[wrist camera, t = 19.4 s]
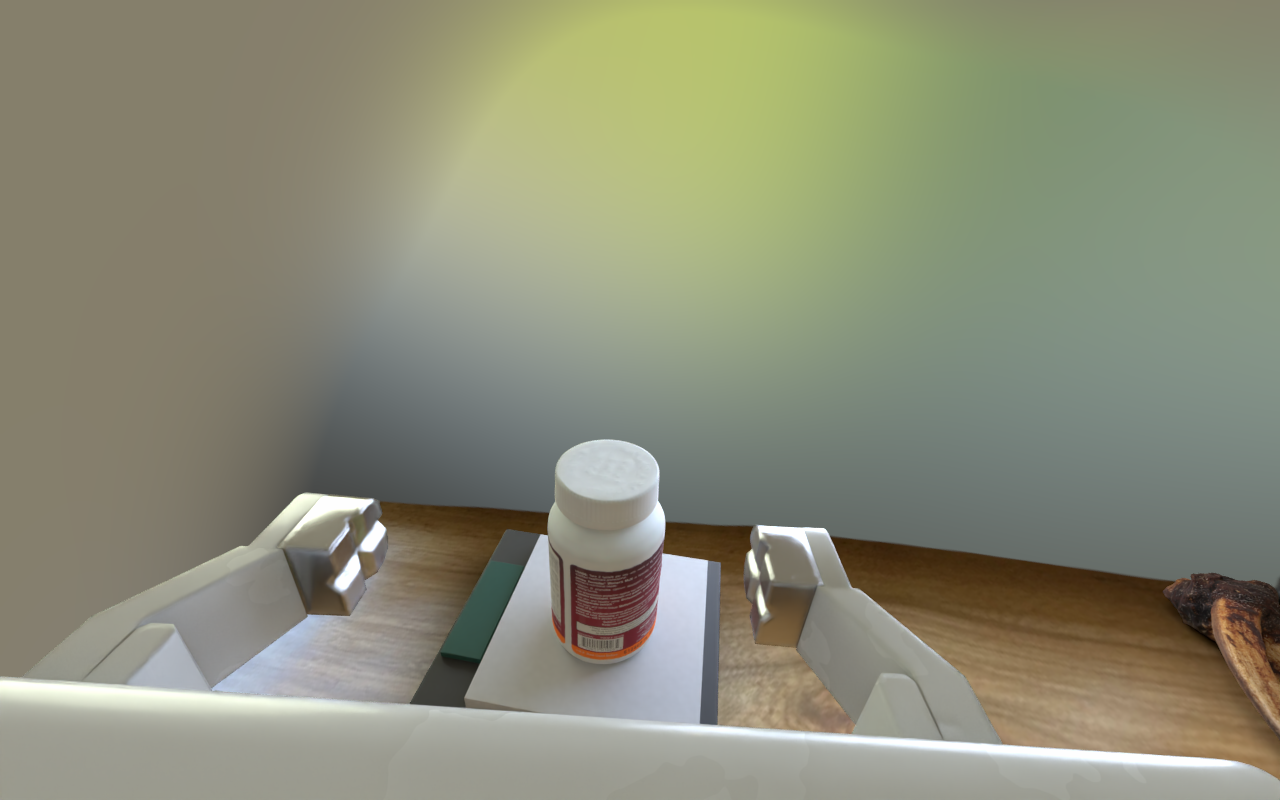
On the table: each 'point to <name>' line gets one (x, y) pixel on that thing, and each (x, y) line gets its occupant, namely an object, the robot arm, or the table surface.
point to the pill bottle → (605, 550)
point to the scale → (555, 679)
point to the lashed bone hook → (1238, 632)
